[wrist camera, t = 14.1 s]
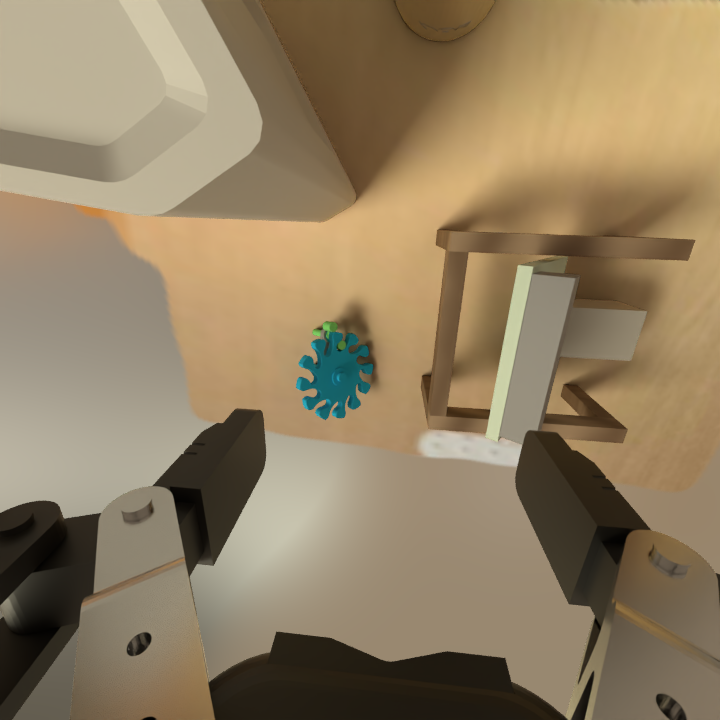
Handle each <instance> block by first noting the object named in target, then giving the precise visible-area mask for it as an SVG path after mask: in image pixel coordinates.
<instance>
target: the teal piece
mask: <svg viewBox="0 0 720 720" xmlns="http://www.w3.org/2000/svg"><path fill="white" fill-rule="evenodd" d="M337 328H338V326H337V324H336V323H335V322H328V321H326V322H324V323H323V329H322V330H318V329H314V330H313V335H316V336H320V338H321V339H316V340H314V341H313V342H311V346H312V348H313V349H314V350H315V352H316V354H317V358H318V364H317V365H316V364H314V362H313V359H312V357H310V356H306V355H304V356H303V357H302V358H301V360H300V362H299V365H300V366H301V367H303V368H306V369H309V370H310V371H311V373H312V374H313V376H314V380H313V382H312V383H310V382H309V380H308V379H306V378H303V377H299V378H298V380H297V384H296V388H297V389H299V390H301V391H306V390H308V389H312V388H313V389H316V390H317V395H316V396H315V397H313V398H312V397H309V396H306V397H304V398H303V399H302V401H303V405H304V407H305V408H306V409H308V410H312V409H313V408H314V407H315V406H316V405H317V404H318V403H319V402H320V401H322V400H326V404H325V405H324V406H322V407H319V408H318V409H317V410H316V412H315V413H316V415H317V416H319V417H321V418H323V419H325V420H326V419H327V418H328V417H329V413H330V410H331V408H332V407H333V405H334V404H335V403H336V402H337V401H338V405H337V406H336V407H335V408H334V410H333V412H332V415H333V416H335V417H337V418H344V417H345V414H346V412H345V403H346V400H347V398H348V396H349V395H350V398H349V401H348V407H349V408H351V409H356V408H358V407H359V406H360V404H361V403H360V400H359V399H358V398H357V396H356V385H357V384H358V390H359V391H360V392H362V393H365V394H366V393H367V392H368V391H369V389H370V387H371V386H370V384H369V383H366V382H363V381H362V379H361V378H360V376H359V372H360V370H362V372H363V373H365V374H368V375H370V374H372V371H373V364H370V363H364V364H358V363H357V357H358V356H363V357H367V356H368V355H369V350H368V347H367V346H365V345H360V346H359V347H358V348H357V349H356V350H355V351H354V352H352V353H349V351H348V350H349V347H350V346H352V345H356V344H357V343H358V341H359V339H358V338H357V336H356V335H354V334H352V333H348V334H347V335H346V337H345V341H342V338H343V334H342V333H339V332H335V331H336V330H337ZM337 349H338V350H337Z"/></svg>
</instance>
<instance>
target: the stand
mask: <svg viewBox="0 0 720 720" xmlns="http://www.w3.org/2000/svg"><path fill="white" fill-rule="evenodd" d="M694 243H695V240H688V239H667V238H646V237H626V236H577V235H549V234H520V233H491V232H465V231H453V230H437V238H436V245H437V246H439V247H441V248H443V249H445V250H446V253H445V262H444V271H443V279H442V288H441V297H440V306H439V314H438V323H437V332H436V340H435V349H434V358H433V366H432V375H431V376H422V381H421V390H422V396H423V401H424V407H425V413H426V418H427V424H428V429H435V430H449V431H462V432H476V433H486V432H487V426H488V421H489V416H490V411H491V410H487V409H472V408H458V407H447V405H448V398H449V391H450V383H451V376H452V369H453V362H454V354H455V347H456V340H457V332H458V325H459V318H460V311H461V303H462V296H463V289H464V282H465V274H466V267H467V260H468V253H469V252H479V253H505V254H530V255H556V256H582V257H608V258H634V259H660V260H685V261H688V259H689V257H690V254H691V251H692V248H693V245H694ZM561 397H562V398H563V399H564V400H565V401H566V402H567V403H568V404H569V405H570V406H571V407H572V408H573V409H574V410H575V411H576V412H577V413H578V414H579V415H580V416H575V415H560V414H545V418H544V421H543V425H542V429H541V431H549V432H557V433H558V434H559V435H560V436H561V437H562V438H563V439H572V440H586V441H599V442H613V443H623V441H624V438H625V436H626V433H627V430H628V429H627V428H626V427H624V426H623V425H622V424H621V423H620V422H619V421H617V420H616V419H615V418H614V417H613V416H612V415H611V414H609V413H608V412H607V411H606V410H605V409H604V408H602V407H601V406H600V405H599V404H598V403H597V402H596V401H594V400H593V399H592V398H591V397H590V396H589V395H587V394H586V393H585V392H584V391H583V390H582V389H581V388H579V387H578V386H577V385H564V386H563V389H562V393H561Z"/></svg>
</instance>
